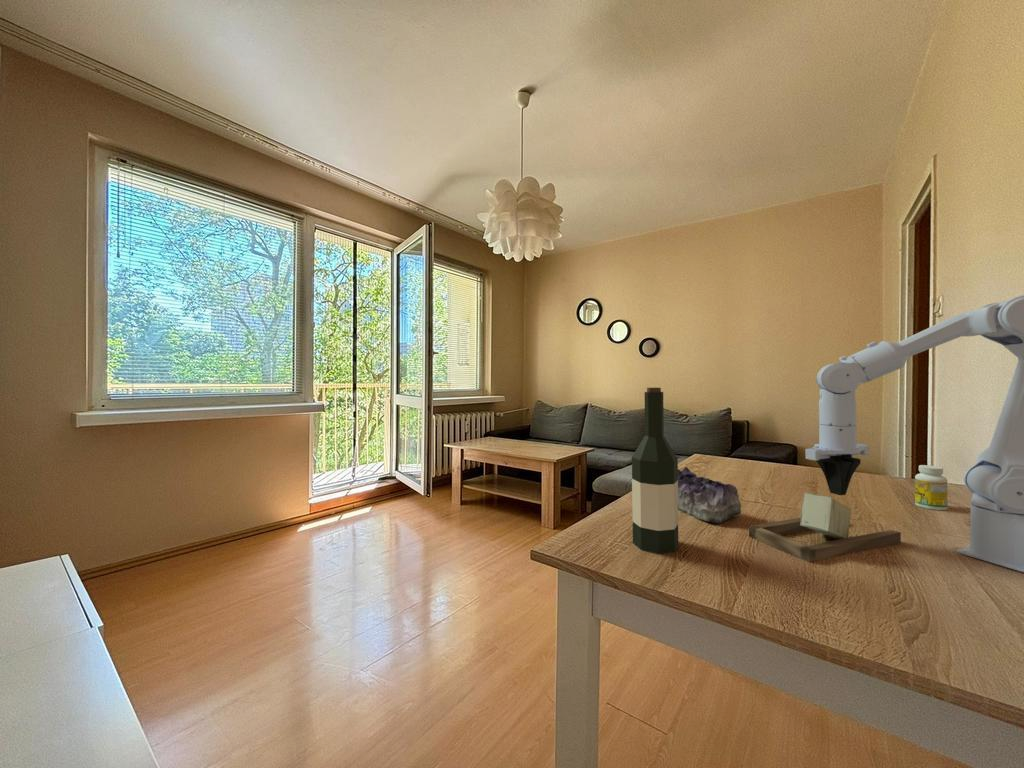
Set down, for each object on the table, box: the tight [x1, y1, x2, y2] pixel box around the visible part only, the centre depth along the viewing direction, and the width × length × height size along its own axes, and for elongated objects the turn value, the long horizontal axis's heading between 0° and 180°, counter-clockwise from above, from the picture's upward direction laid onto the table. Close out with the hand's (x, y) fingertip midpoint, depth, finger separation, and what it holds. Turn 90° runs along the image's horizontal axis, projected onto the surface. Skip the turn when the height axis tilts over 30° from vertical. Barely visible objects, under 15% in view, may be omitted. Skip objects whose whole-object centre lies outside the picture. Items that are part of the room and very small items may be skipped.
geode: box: [678, 466, 742, 525], centre depth 97 cm, size 20×12×10 cm, turn 18°
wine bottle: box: [631, 387, 679, 554], centre depth 77 cm, size 8×8×30 cm
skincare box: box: [800, 492, 852, 539], centre depth 77 cm, size 6×4×12 cm
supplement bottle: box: [914, 464, 949, 511], centre depth 96 cm, size 5×5×10 cm
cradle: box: [748, 517, 902, 563], centre depth 79 cm, size 12×24×2 cm, turn 108°
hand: (837, 493), depth 80 cm, fingers closed
